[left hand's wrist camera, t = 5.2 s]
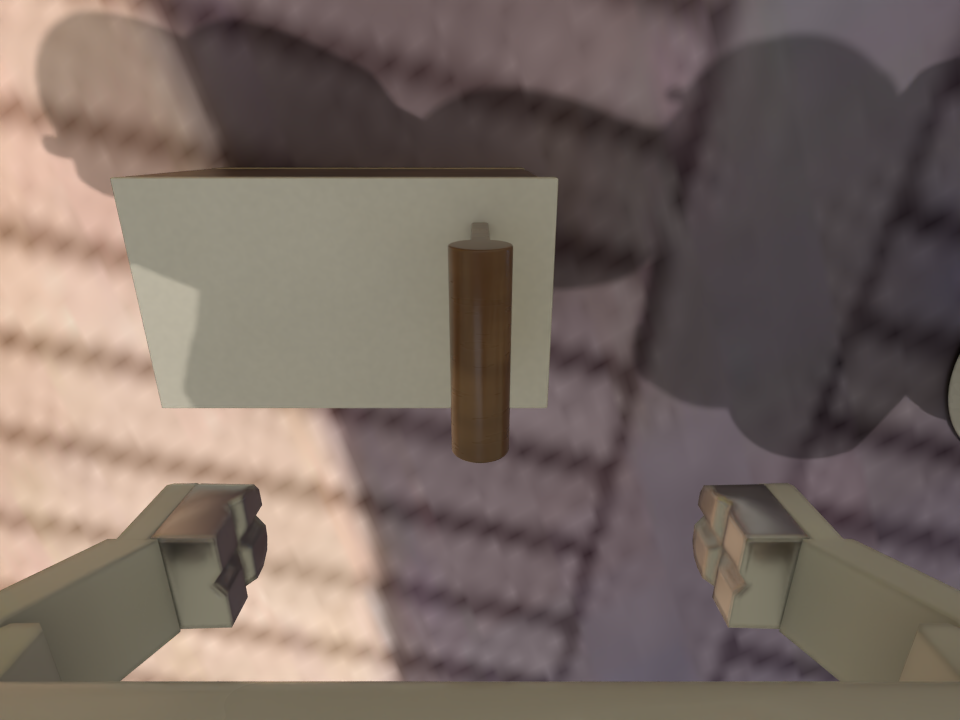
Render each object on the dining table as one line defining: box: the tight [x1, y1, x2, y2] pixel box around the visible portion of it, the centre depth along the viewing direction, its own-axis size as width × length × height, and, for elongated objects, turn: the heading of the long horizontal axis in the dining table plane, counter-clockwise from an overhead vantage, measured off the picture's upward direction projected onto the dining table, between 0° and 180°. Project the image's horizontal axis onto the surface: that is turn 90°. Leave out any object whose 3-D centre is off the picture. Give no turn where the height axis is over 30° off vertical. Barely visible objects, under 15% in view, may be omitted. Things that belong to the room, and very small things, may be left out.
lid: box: [110, 177, 558, 463], centre depth 21 cm, size 18×10×8 cm, turn 90°
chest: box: [126, 168, 538, 177], centre depth 30 cm, size 17×10×10 cm, turn 90°
